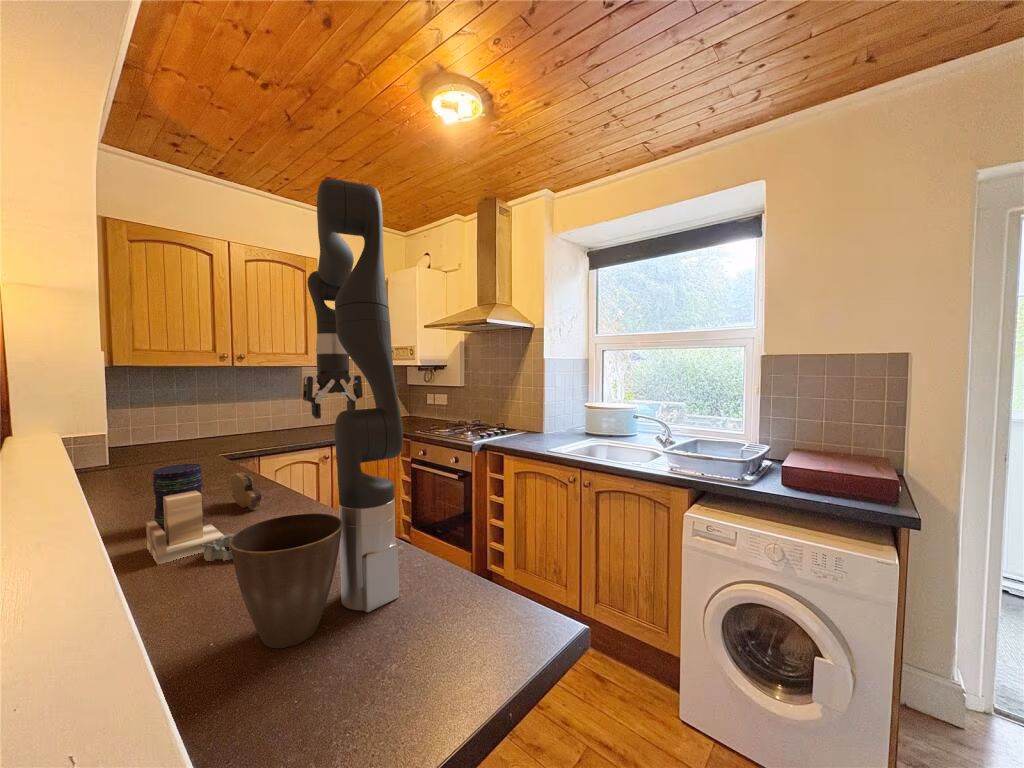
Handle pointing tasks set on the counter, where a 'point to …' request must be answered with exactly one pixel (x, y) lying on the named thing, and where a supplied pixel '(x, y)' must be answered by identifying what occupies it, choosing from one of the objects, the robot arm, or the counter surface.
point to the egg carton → (218, 549)
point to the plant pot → (286, 573)
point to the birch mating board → (170, 553)
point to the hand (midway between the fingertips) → (334, 416)
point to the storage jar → (175, 485)
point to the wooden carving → (244, 491)
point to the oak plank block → (183, 517)
